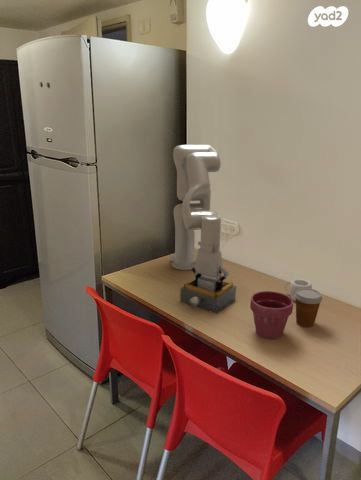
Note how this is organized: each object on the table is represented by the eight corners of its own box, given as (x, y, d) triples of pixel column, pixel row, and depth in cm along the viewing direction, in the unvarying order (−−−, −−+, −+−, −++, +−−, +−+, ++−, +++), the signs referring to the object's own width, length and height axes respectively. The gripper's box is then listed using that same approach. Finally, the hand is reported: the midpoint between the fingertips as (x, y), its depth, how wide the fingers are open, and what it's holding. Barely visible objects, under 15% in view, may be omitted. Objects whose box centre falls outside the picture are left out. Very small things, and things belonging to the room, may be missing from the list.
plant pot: (260, 318, 147) (263, 286, 143) (296, 330, 139) (300, 297, 135) (240, 333, 136) (243, 300, 133) (278, 348, 128) (281, 313, 124)
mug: (314, 300, 161) (316, 283, 159) (302, 306, 156) (304, 288, 154) (290, 290, 170) (292, 273, 168) (277, 295, 165) (279, 278, 163)
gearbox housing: (175, 304, 156) (175, 287, 154) (200, 289, 171) (201, 273, 168) (211, 317, 147) (212, 299, 145) (235, 299, 161) (236, 282, 159)
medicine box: (219, 298, 160) (220, 279, 157) (213, 302, 156) (214, 282, 154) (202, 293, 164) (203, 274, 161) (196, 297, 160) (197, 278, 158)
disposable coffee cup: (288, 325, 142) (292, 295, 138) (294, 314, 150) (298, 285, 146) (316, 332, 138) (320, 301, 134) (320, 320, 146) (324, 290, 142)
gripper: (186, 244, 155) (185, 284, 160) (224, 254, 146) (222, 296, 151) (196, 240, 161) (195, 278, 166) (234, 248, 151) (231, 289, 157)
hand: (208, 287), depth 159 cm, fingers open, 9 cm apart
